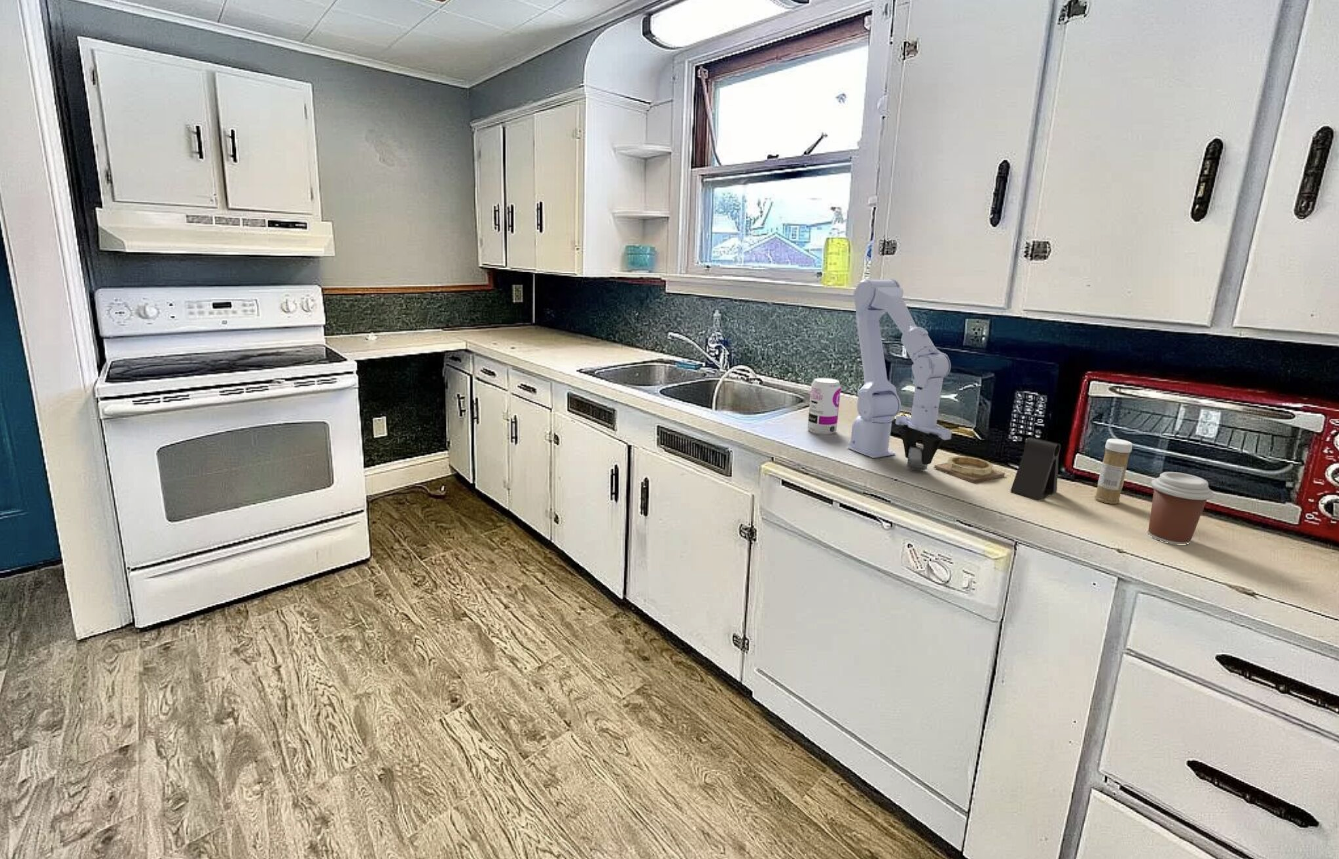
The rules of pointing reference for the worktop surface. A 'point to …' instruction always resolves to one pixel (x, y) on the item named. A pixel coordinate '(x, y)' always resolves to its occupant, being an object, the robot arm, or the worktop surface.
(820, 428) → the supplement can
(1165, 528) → the coffee cup
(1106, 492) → the sprinkles bottle
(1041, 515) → the worktop surface
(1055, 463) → the phone stand
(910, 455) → the cylinder
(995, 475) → the ring plate
